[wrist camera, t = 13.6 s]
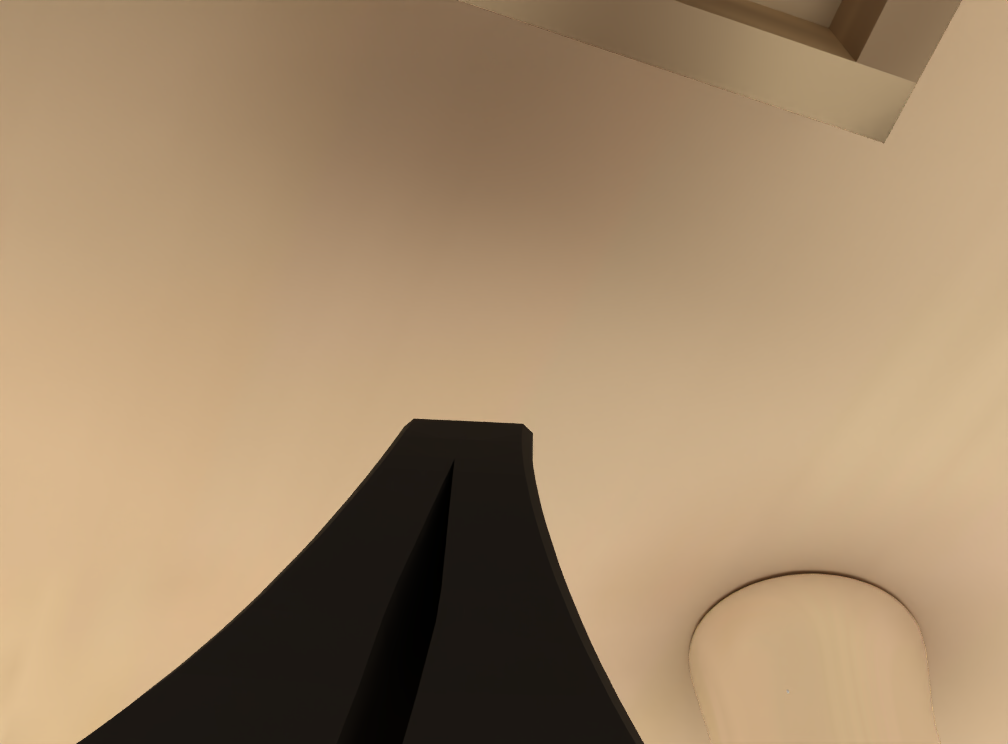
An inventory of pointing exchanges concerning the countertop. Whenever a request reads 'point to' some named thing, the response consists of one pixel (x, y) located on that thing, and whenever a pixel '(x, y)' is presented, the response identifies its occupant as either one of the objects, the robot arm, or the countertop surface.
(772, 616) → the beer glass
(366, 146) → the countertop surface
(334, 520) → the robot arm
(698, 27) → the brown divided tray
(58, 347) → the countertop surface
